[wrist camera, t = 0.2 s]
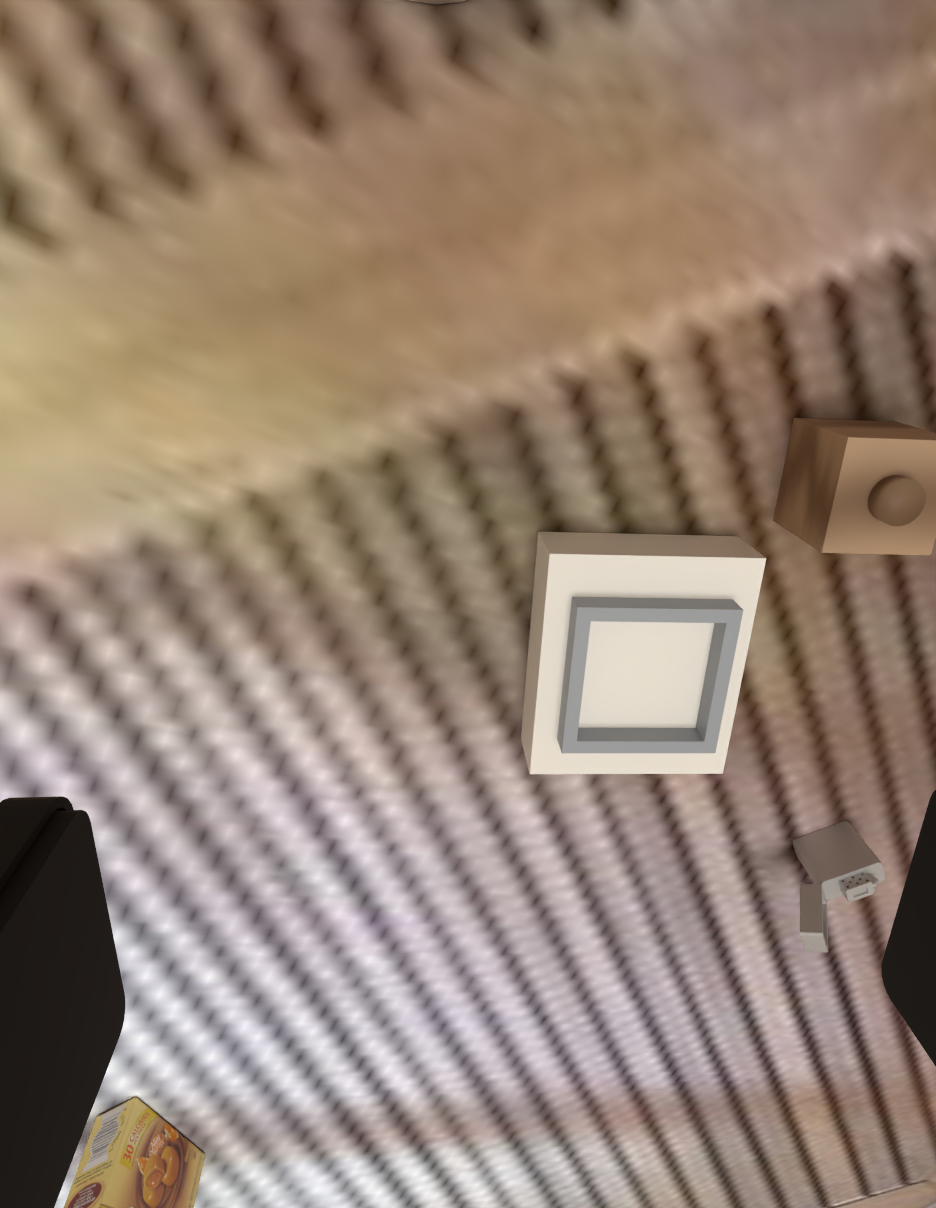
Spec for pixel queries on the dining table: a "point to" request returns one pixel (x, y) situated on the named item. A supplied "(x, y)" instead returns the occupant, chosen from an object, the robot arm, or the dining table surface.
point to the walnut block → (859, 487)
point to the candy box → (136, 1163)
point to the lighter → (833, 877)
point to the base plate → (636, 651)
